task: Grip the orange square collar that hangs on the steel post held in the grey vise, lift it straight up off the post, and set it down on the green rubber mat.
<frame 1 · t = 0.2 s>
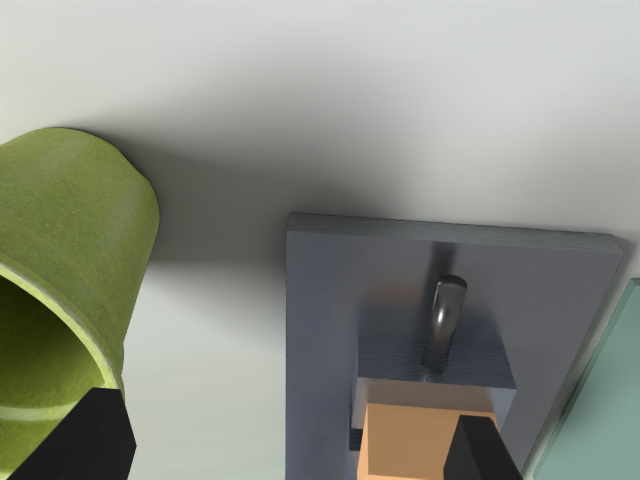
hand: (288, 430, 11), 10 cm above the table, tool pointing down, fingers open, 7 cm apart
vise: (414, 380, 25), on the table
collar: (421, 445, 22), point 3 cm above the table, touching vise
plant pot: (84, 195, 20), on the table
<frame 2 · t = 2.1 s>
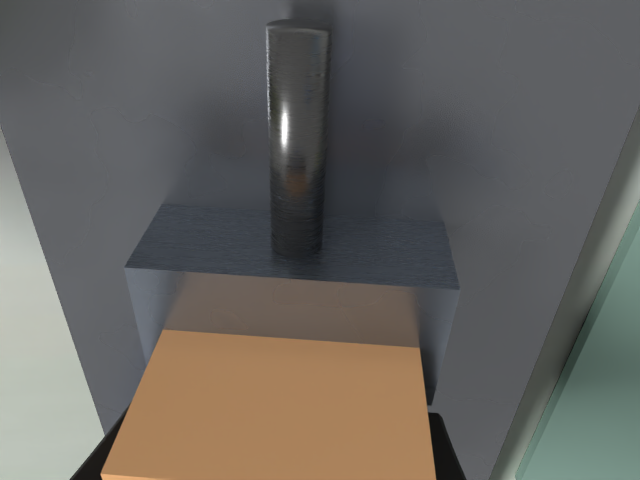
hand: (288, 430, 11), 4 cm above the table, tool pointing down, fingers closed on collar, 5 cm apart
vise: (303, 312, 14), on the table
collar: (289, 418, 12), point 3 cm above the table, touching gripper, vise
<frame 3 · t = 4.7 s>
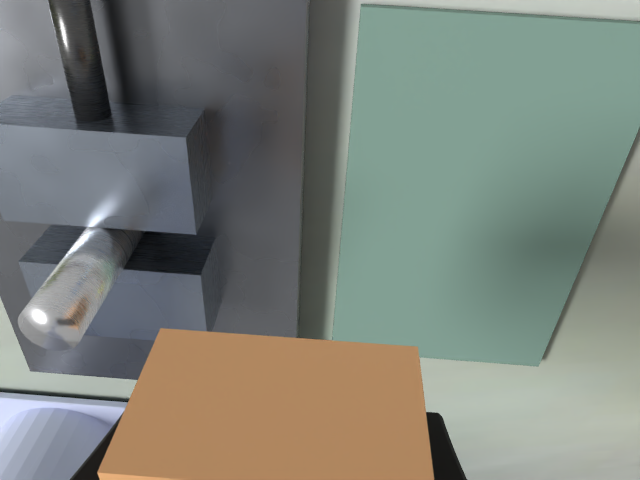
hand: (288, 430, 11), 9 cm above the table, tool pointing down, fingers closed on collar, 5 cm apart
vise: (141, 194, 19), on the table
collar: (288, 417, 12), point 9 cm above the table, touching gripper
mat: (466, 218, 19), on the table
when the fingers open (2 cm above the table, at t = 7.3 s): collar drops 2 cm, resting on mat.
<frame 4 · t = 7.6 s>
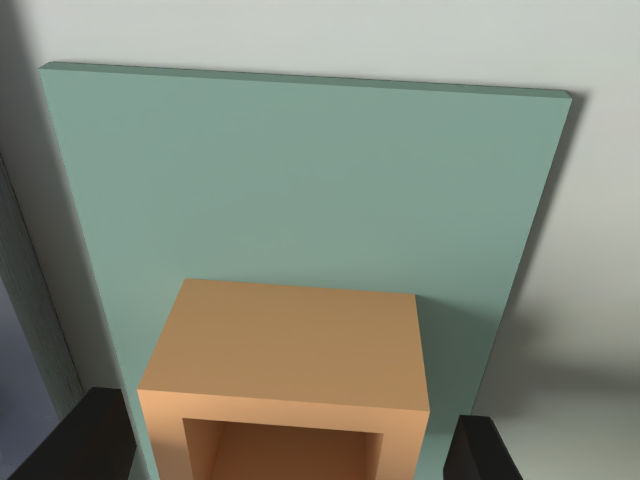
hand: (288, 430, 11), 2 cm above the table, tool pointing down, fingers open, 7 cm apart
collar: (297, 364, 13), resting on mat
mat: (298, 353, 13), on the table
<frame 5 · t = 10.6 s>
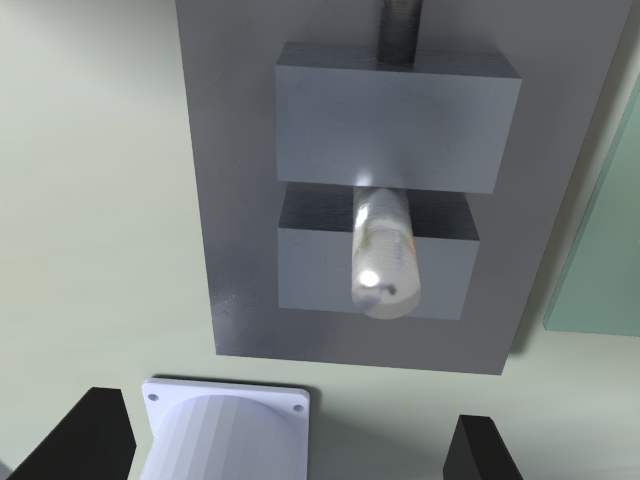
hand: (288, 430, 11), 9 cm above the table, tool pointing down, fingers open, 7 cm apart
vise: (377, 158, 18), on the table
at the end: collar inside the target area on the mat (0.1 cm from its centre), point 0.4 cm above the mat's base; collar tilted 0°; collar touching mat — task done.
